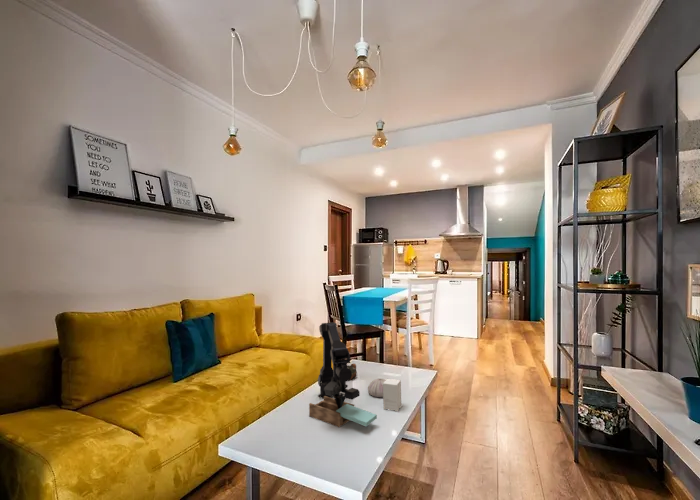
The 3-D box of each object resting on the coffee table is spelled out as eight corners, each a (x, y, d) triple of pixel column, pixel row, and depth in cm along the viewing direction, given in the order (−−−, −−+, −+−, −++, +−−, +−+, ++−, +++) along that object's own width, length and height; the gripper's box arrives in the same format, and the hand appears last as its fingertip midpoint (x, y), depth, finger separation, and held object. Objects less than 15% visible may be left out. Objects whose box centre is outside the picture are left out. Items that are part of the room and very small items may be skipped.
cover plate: (335, 414, 143) (335, 410, 143) (346, 407, 150) (346, 403, 150) (366, 426, 134) (366, 422, 134) (376, 418, 141) (376, 414, 141)
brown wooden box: (309, 416, 151) (309, 403, 151) (324, 407, 159) (324, 395, 160) (339, 427, 140) (339, 413, 140) (354, 417, 149) (354, 404, 149)
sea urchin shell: (389, 400, 168) (389, 384, 168) (364, 397, 172) (364, 382, 172) (394, 391, 180) (394, 376, 181) (371, 388, 184) (370, 374, 185)
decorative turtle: (361, 376, 205) (361, 363, 205) (348, 385, 192) (348, 372, 192) (348, 372, 210) (348, 360, 210) (335, 381, 198) (335, 368, 197)
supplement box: (401, 405, 161) (401, 380, 161) (397, 412, 154) (397, 385, 155) (387, 403, 164) (387, 378, 164) (382, 409, 157) (382, 382, 158)
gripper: (312, 375, 147) (312, 410, 146) (344, 383, 136) (344, 421, 135) (328, 368, 156) (328, 401, 155) (360, 376, 145) (360, 412, 144)
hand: (339, 409), depth 147 cm, fingers closed
